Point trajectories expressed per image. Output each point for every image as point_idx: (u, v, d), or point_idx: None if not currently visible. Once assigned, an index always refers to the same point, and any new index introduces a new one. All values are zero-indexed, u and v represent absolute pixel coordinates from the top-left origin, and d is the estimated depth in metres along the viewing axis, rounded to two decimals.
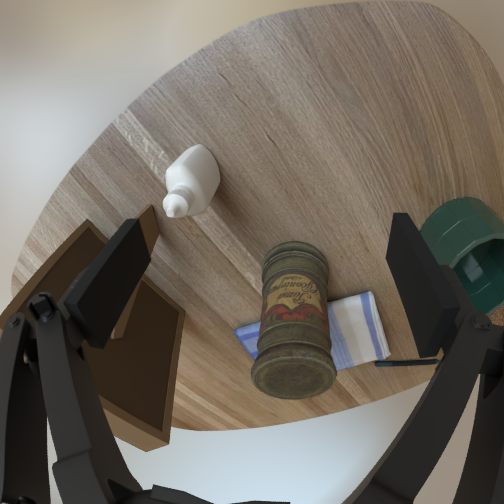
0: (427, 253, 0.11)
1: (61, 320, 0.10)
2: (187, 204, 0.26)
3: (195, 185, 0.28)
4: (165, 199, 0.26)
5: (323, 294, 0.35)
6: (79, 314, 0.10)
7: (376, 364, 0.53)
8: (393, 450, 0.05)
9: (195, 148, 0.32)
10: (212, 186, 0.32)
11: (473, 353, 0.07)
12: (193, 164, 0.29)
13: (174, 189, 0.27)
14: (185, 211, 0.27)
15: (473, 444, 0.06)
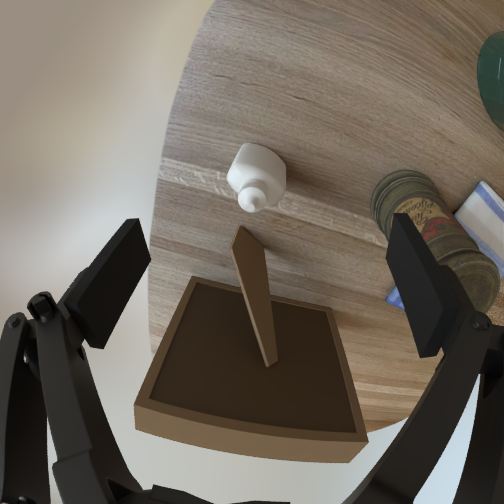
0: (427, 253, 0.11)
1: (61, 320, 0.10)
2: (261, 190, 0.25)
3: (259, 173, 0.27)
4: (239, 199, 0.26)
5: (441, 204, 0.27)
6: (79, 314, 0.10)
7: None
8: (393, 450, 0.05)
9: (241, 148, 0.31)
10: (278, 168, 0.30)
11: (474, 353, 0.07)
12: (246, 158, 0.28)
13: (242, 186, 0.26)
14: (264, 198, 0.25)
15: (473, 444, 0.06)
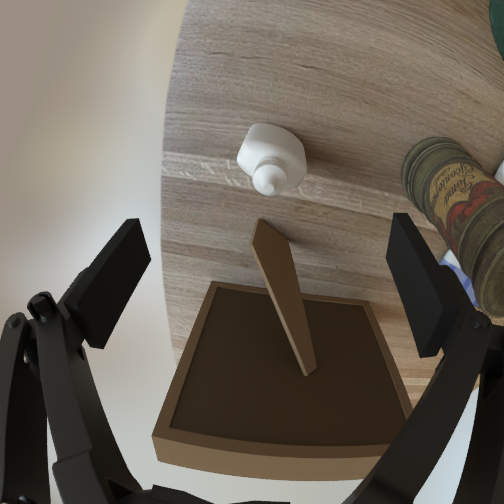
0: (427, 253, 0.11)
1: (61, 320, 0.10)
2: (280, 167, 0.20)
3: (274, 149, 0.22)
4: (254, 181, 0.21)
5: (481, 168, 0.21)
6: (79, 314, 0.10)
7: None
8: (393, 450, 0.05)
9: (250, 128, 0.27)
10: (295, 145, 0.25)
11: (473, 353, 0.07)
12: (258, 136, 0.24)
13: (256, 166, 0.22)
14: (284, 177, 0.21)
15: (473, 444, 0.06)
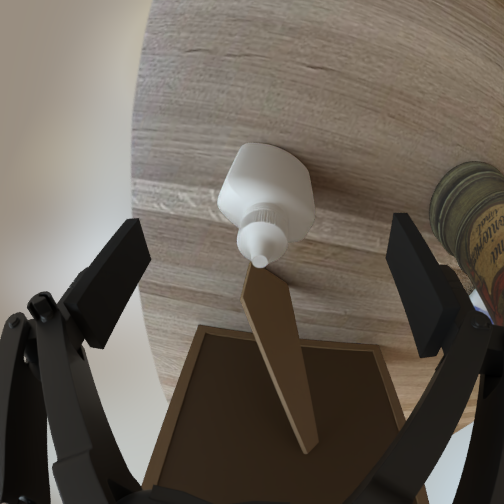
0: (427, 253, 0.11)
1: (61, 320, 0.10)
2: (277, 225, 0.14)
3: (270, 192, 0.16)
4: (239, 245, 0.15)
5: None
6: (79, 314, 0.10)
7: None
8: (393, 450, 0.05)
9: (239, 151, 0.20)
10: (300, 178, 0.19)
11: (473, 353, 0.07)
12: (247, 168, 0.17)
13: (242, 220, 0.15)
14: (283, 239, 0.14)
15: (473, 444, 0.06)
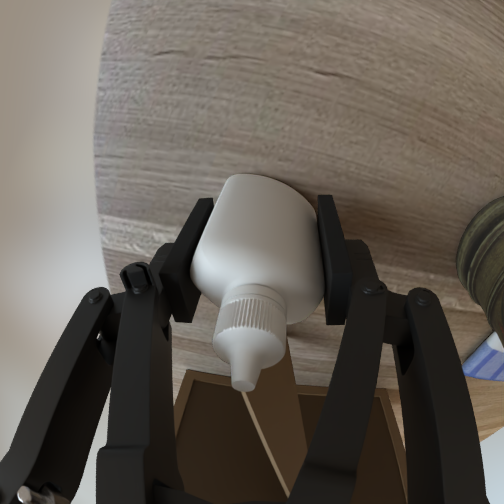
0: (336, 227, 0.13)
1: (154, 296, 0.11)
2: (270, 330, 0.09)
3: (261, 266, 0.11)
4: (216, 350, 0.10)
5: None
6: (175, 285, 0.12)
7: None
8: (316, 430, 0.06)
9: (223, 189, 0.16)
10: (304, 230, 0.14)
11: (372, 318, 0.09)
12: (230, 222, 0.12)
13: (221, 312, 0.10)
14: (278, 347, 0.09)
15: (406, 422, 0.07)
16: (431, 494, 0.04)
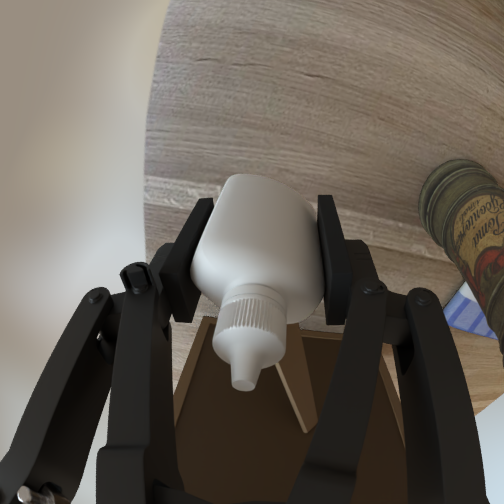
0: (336, 227, 0.13)
1: (154, 296, 0.11)
2: (270, 330, 0.09)
3: (261, 266, 0.11)
4: (216, 350, 0.10)
5: None
6: (175, 285, 0.12)
7: None
8: (316, 430, 0.06)
9: (224, 189, 0.16)
10: (304, 230, 0.14)
11: (372, 318, 0.09)
12: (230, 222, 0.12)
13: (221, 311, 0.10)
14: (278, 347, 0.09)
15: (406, 422, 0.07)
16: (431, 495, 0.04)
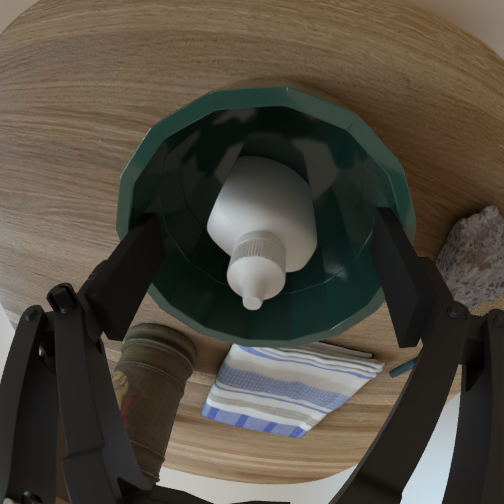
0: (406, 245, 0.11)
1: (81, 313, 0.10)
2: (272, 260, 0.12)
3: (266, 217, 0.14)
4: (229, 280, 0.13)
5: (138, 382, 0.27)
6: (100, 305, 0.11)
7: (391, 375, 0.33)
8: (376, 444, 0.06)
9: (233, 166, 0.19)
10: (300, 198, 0.17)
11: (452, 342, 0.07)
12: (240, 188, 0.15)
13: (234, 251, 0.13)
14: (279, 275, 0.12)
15: (459, 437, 0.06)
16: None
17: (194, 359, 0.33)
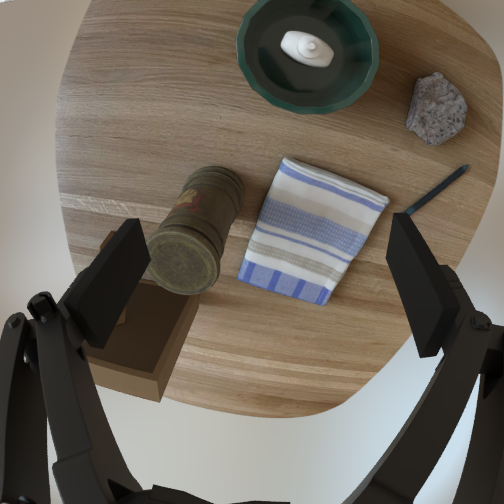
0: (427, 253, 0.11)
1: (61, 320, 0.10)
2: (317, 38, 0.23)
3: (310, 35, 0.25)
4: (298, 47, 0.24)
5: (205, 190, 0.37)
6: (79, 314, 0.10)
7: None
8: (393, 450, 0.05)
9: None
10: None
11: (473, 353, 0.07)
12: None
13: (298, 41, 0.24)
14: (320, 44, 0.23)
15: (473, 444, 0.06)
16: None
17: (242, 196, 0.44)
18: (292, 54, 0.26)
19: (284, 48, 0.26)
